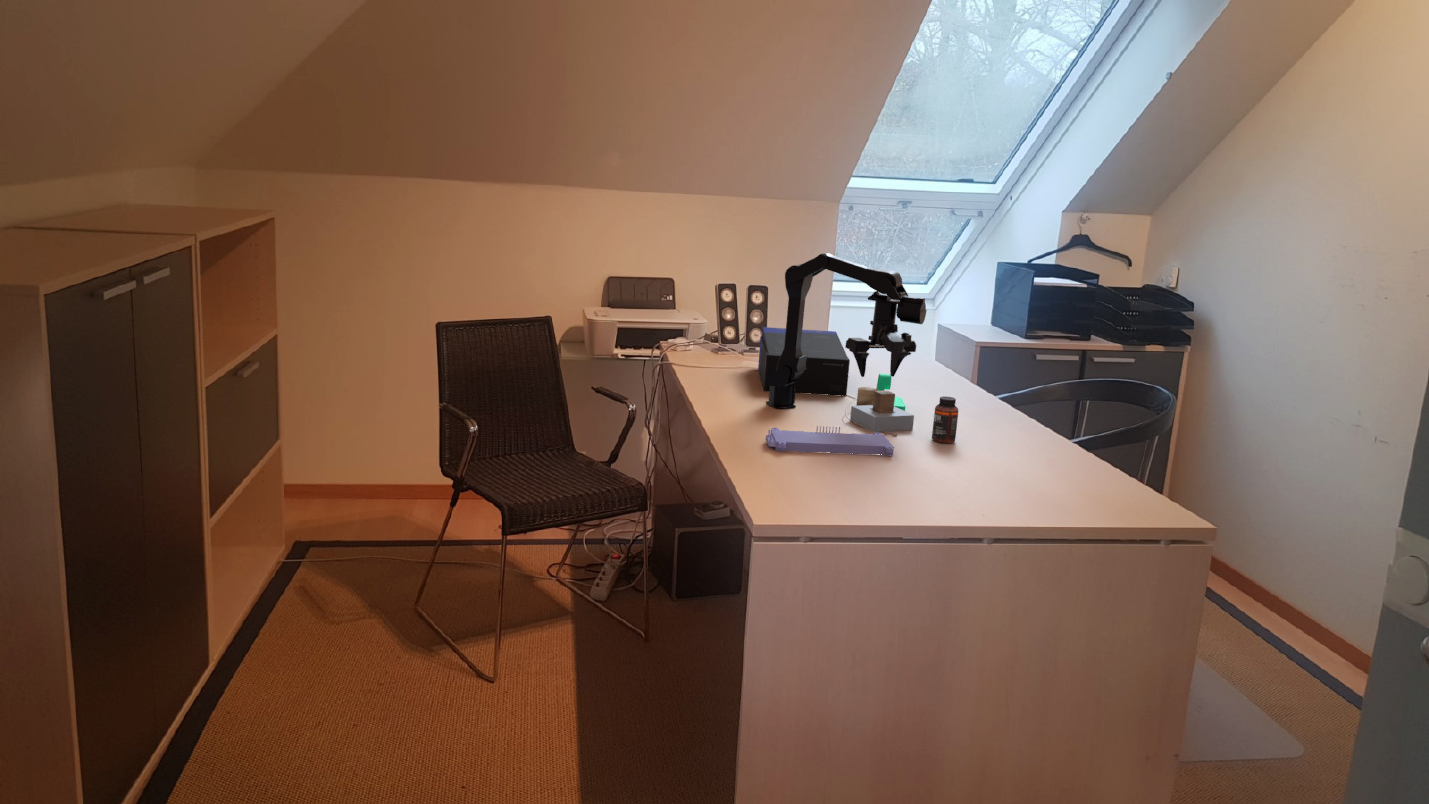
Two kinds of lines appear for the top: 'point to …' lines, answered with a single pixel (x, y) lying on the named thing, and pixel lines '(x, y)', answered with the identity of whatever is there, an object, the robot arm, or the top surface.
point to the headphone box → (808, 361)
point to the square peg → (883, 401)
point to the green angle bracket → (885, 383)
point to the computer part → (829, 442)
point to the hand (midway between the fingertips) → (877, 376)
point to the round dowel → (865, 396)
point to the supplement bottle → (945, 420)
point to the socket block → (881, 419)
